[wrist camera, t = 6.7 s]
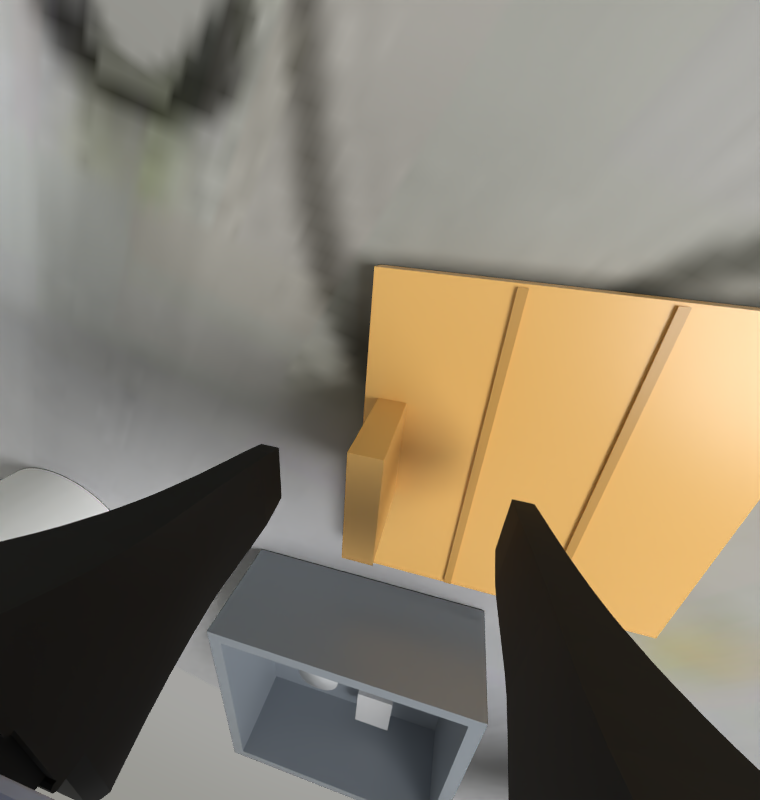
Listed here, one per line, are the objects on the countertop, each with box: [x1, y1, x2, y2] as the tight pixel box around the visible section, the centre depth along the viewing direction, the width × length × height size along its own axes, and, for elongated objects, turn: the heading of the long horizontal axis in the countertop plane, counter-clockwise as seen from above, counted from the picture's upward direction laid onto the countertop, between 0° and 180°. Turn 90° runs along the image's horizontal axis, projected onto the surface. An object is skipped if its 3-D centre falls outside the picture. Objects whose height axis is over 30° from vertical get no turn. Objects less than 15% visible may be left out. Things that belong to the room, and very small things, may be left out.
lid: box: [342, 265, 760, 638], centre depth 11 cm, size 13×13×5 cm
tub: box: [207, 550, 488, 800], centre depth 19 cm, size 12×12×4 cm
